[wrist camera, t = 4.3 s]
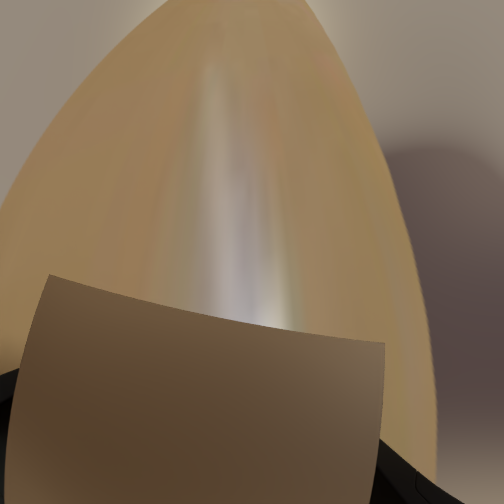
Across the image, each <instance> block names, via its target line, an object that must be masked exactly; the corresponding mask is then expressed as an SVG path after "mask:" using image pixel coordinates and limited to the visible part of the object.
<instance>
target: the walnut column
mask: <svg viewBox="0 0 504 504" xmlns="http://www.w3.org/2000/svg"><path fill="white" fill-rule="evenodd" d="M384 367H385V343H379V342H370V341H361V340H353V339H345V338H337V337H330V336H322V335H315V334H309V333H302V332H296V331H289V330H283V329H277V328H271V327H266V326H260V325H254V324H249V323H244V322H238V321H233V320H228V319H223V318H218V317H213V316H208V315H203V314H199V313H194V312H189V311H185V310H180V309H176V308H172V307H167V306H163V305H159V304H155V303H151V302H147V301H142V300H138V299H135V298H131V297H127V296H123V295H119V294H115V293H112V292H108V291H104V290H101V289H97V288H93V287H90V286H86V285H83V284H80V283H76V282H73V281H69V280H66V279H63V278H59V277H56V276H53V275H50V274H49V276H48V279H47V282H46V284H45V287H44V290H43V292H42V295H41V298H40V301H39V304H38V306H37V309H36V312H35V315H34V318H33V322H32V325H31V328H30V331H29V335H28V338H27V342H26V345H25V349H24V353H23V356H22V360H21V364H20V369H19V373H18V377H17V382H16V387H15V392H14V397H13V403H12V409H11V415H10V422H9V429H8V437H7V447H6V460H5V482H4V503H5V504H369V502H370V497H371V492H372V486H373V480H374V474H375V468H376V461H377V454H378V446H379V438H380V428H381V418H382V405H383V390H384Z"/></svg>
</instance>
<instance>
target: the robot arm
mask: <svg viewBox="0 0 504 504" xmlns="http://www.w3.org/2000/svg"><path fill="white" fill-rule="evenodd" d="M19 369H20V368H18V369H15V370H13V371H10V372H7V373H5V374H2V375H0V504H5V503H4V482H5V460H6V447H7V437H8V429H9V422H10V415H11V409H12V403H13V397H14V392H15V387H16V382H17V377H18V373H19ZM369 504H464V503H462V502H461V501H459V500H458V499H456V498H454V497H453V496H451V495H449V494H448V493H446V492H445V491H443V490H442V489H441V488H439V487H437V486H436V485H435V484H433V483H432V482H431V481H430V480H428V479H427V478H426V477H424V476H423V475H422V474H421V473H420V472H418V471H416V469H415V468H414V467H412V466H411V465H410V464H409V463H408V462H406V461H405V460H404V459H403V458H402V457H401V456H399V455H398V454H397V453H396V452H395V451H394V450H392V449H391V448H390V447H389V446H388V445H387V444H386V443H384V442H383V441H382V440H381V439H380V438H379V446H378V454H377V461H376V468H375V474H374V480H373V486H372V492H371V497H370V502H369Z"/></svg>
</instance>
